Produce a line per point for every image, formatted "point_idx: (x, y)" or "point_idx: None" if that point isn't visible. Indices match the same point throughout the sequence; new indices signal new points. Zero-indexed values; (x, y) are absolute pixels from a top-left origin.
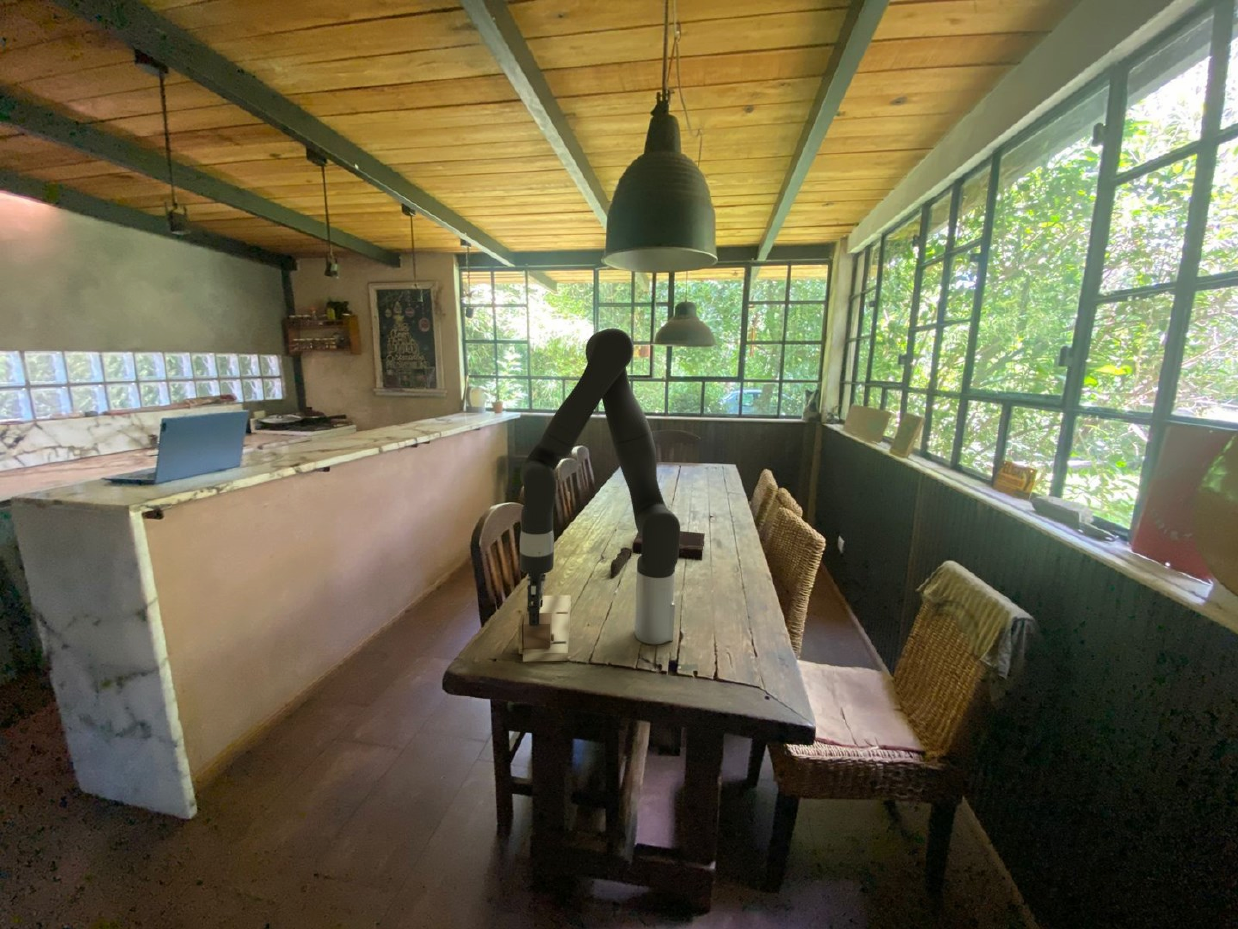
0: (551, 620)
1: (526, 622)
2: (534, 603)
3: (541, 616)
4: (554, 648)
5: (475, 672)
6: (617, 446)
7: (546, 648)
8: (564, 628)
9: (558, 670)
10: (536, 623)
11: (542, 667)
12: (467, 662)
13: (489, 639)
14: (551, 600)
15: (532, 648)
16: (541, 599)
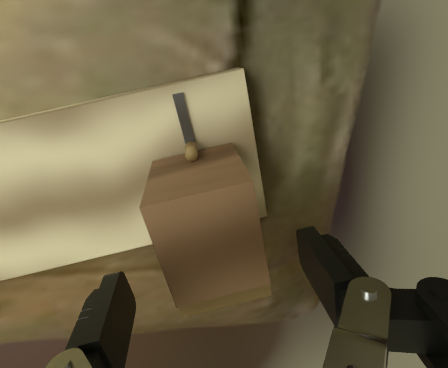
0: (151, 188)
1: (254, 278)
2: (131, 316)
3: (190, 240)
4: (225, 127)
5: None
6: None
7: None
8: (72, 128)
9: (293, 85)
10: (335, 240)
11: (281, 140)
12: (276, 314)
13: (173, 315)
14: None
15: None
16: (354, 332)
